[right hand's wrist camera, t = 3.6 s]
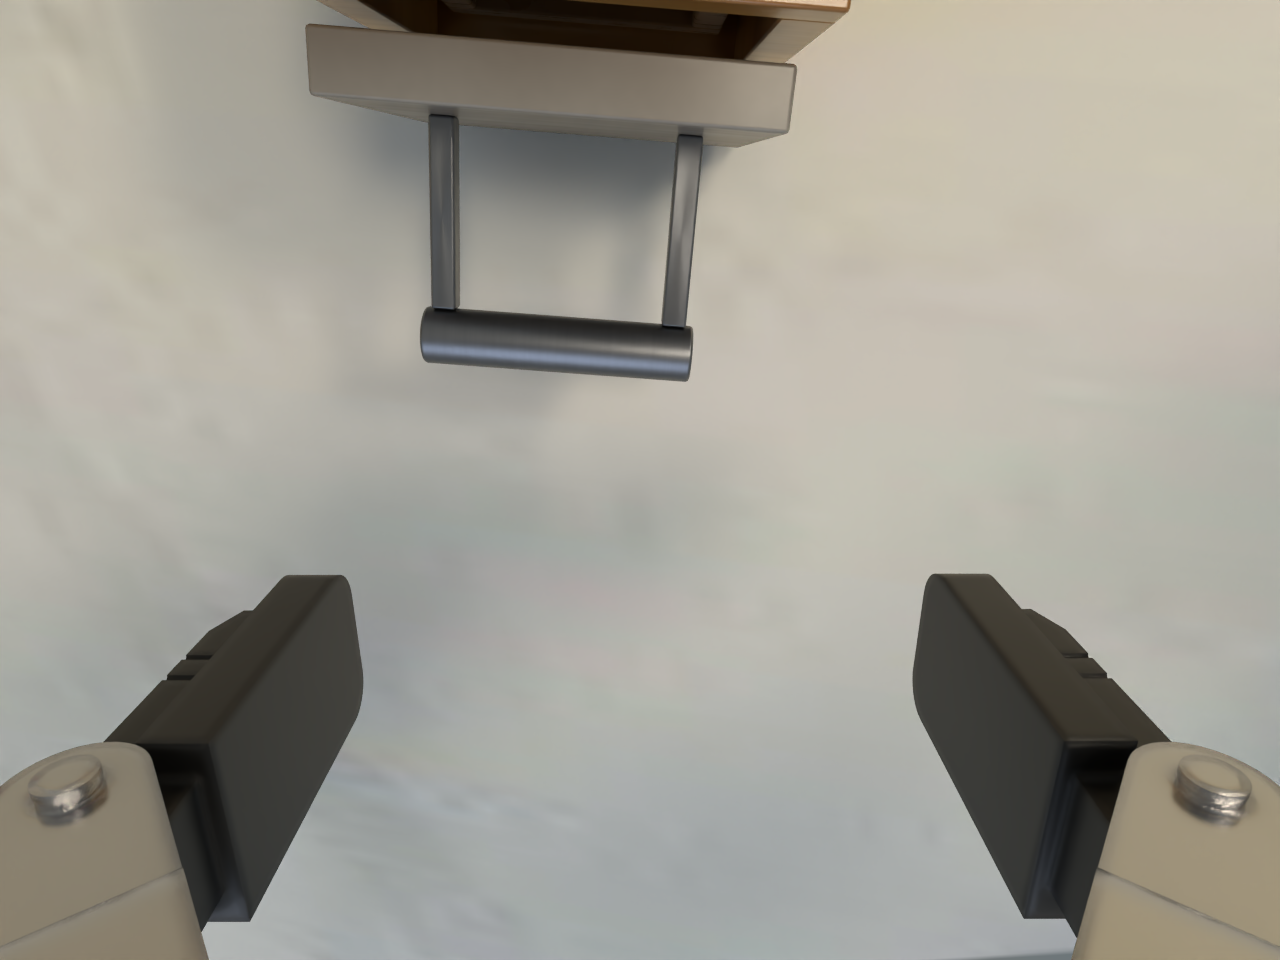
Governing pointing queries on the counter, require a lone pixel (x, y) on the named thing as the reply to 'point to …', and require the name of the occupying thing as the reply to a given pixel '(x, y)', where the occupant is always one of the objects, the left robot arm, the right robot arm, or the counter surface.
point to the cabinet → (754, 29)
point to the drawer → (560, 103)
